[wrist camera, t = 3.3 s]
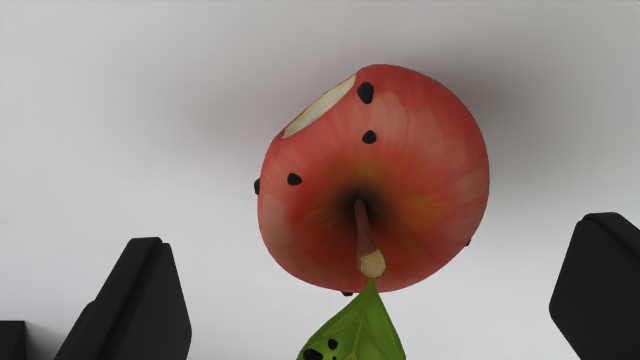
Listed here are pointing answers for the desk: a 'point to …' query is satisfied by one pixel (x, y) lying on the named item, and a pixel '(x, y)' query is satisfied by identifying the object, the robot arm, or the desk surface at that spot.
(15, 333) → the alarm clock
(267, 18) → the desk surface
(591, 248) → the robot arm
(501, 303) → the desk surface
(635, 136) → the desk surface
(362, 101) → the apple
